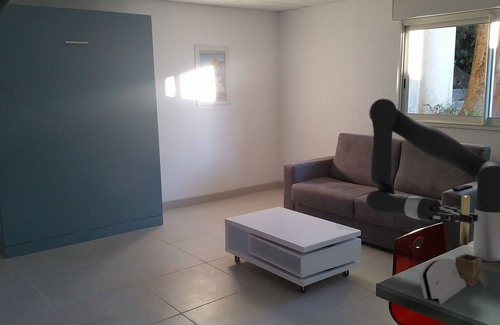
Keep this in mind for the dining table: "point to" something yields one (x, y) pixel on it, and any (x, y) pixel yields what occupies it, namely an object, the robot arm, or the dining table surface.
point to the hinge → (441, 280)
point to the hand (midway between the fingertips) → (474, 219)
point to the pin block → (469, 268)
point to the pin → (464, 226)
